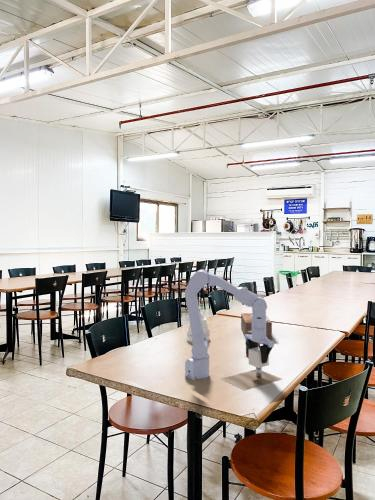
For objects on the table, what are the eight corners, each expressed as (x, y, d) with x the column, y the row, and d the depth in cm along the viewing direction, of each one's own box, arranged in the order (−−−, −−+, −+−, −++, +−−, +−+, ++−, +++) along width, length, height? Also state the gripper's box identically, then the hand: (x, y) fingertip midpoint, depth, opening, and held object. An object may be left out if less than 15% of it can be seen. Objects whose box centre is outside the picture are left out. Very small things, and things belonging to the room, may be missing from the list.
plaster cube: (258, 367, 152) (258, 352, 151) (248, 364, 156) (248, 349, 156) (268, 365, 155) (268, 350, 154) (258, 361, 159) (258, 346, 159)
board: (244, 394, 142) (244, 390, 142) (220, 382, 154) (220, 378, 154) (282, 382, 153) (282, 379, 153) (257, 372, 165) (257, 368, 165)
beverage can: (244, 357, 186) (244, 332, 185) (247, 353, 192) (247, 329, 192) (258, 358, 183) (258, 333, 183) (261, 354, 190) (261, 330, 189)
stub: (258, 378, 154) (258, 368, 154) (254, 377, 156) (254, 366, 156) (262, 377, 155) (262, 367, 155) (258, 375, 157) (258, 365, 157)
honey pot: (189, 336, 225) (188, 305, 224) (211, 337, 222) (211, 306, 222) (184, 342, 212) (184, 309, 212) (207, 343, 210) (207, 310, 209)
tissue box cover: (271, 340, 216) (271, 322, 216) (245, 340, 217) (245, 322, 216) (264, 329, 242) (264, 313, 241) (241, 329, 242) (241, 313, 242)
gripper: (279, 329, 151) (279, 364, 152) (253, 322, 163) (253, 354, 164) (266, 332, 147) (266, 367, 148) (240, 324, 159) (241, 357, 160)
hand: (258, 360), depth 155 cm, fingers closed on plaster cube, 6 cm apart
